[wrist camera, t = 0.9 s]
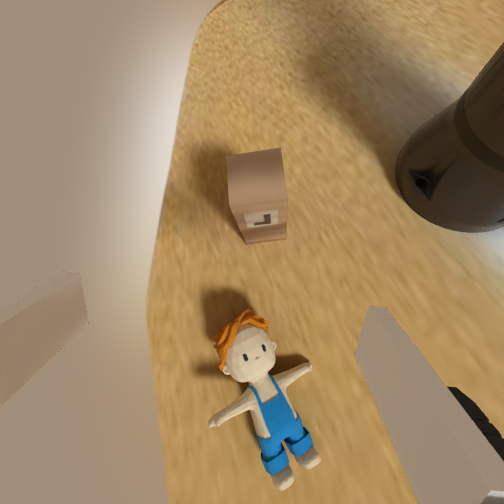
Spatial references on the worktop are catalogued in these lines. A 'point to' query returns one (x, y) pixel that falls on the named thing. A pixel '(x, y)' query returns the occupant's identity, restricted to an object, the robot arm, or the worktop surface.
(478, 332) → the worktop surface
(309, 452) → the toy
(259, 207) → the block
